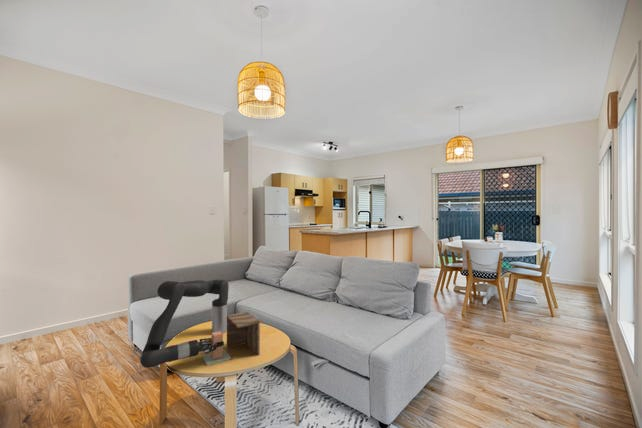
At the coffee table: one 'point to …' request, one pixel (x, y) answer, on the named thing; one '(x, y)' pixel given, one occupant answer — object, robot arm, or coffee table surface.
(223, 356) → the sage mat
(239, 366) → the coffee table surface
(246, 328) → the walnut box
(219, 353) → the terracotta block
